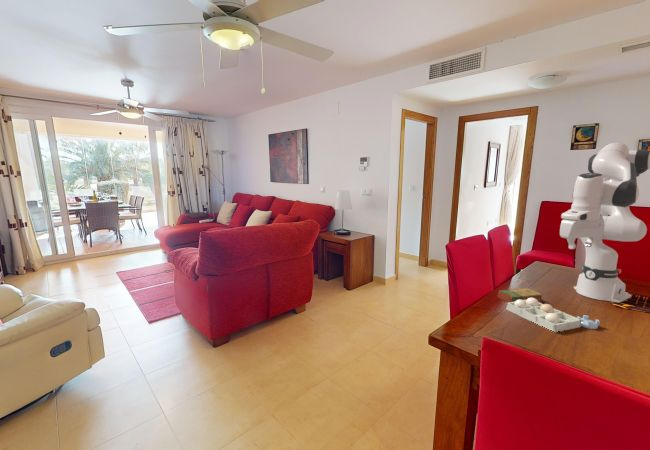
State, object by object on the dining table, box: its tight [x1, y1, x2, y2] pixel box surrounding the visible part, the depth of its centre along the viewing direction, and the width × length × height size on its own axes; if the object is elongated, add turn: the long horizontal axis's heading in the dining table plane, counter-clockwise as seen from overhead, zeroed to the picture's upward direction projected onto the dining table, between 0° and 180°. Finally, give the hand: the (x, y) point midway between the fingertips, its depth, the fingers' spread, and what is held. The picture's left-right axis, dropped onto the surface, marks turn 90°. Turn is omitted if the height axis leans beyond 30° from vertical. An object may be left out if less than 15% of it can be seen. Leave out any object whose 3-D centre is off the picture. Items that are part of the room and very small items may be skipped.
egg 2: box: [526, 298, 540, 307], centre depth 126 cm, size 5×5×5 cm
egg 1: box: [514, 299, 527, 309], centre depth 124 cm, size 5×5×5 cm
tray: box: [505, 300, 582, 333], centre depth 119 cm, size 14×20×3 cm
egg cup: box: [576, 314, 600, 330], centre depth 113 cm, size 6×6×3 cm
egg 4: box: [545, 313, 560, 324], centre depth 111 cm, size 5×5×5 cm
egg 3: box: [540, 303, 555, 313], centre depth 119 cm, size 5×5×5 cm
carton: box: [497, 287, 543, 304], centre depth 136 cm, size 8×16×4 cm, turn 99°
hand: (580, 247), depth 118 cm, fingers open, 8 cm apart
